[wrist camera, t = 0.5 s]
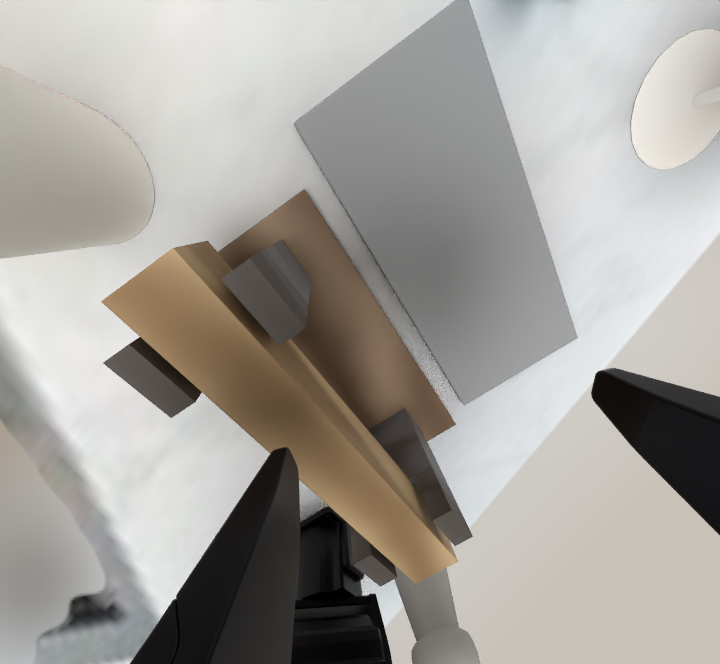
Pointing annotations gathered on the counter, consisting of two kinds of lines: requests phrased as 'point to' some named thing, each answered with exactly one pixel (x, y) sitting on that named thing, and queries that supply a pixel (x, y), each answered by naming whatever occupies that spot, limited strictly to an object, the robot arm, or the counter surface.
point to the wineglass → (679, 102)
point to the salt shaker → (435, 621)
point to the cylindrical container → (65, 173)
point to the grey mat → (445, 202)
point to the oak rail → (279, 402)
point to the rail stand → (325, 354)
